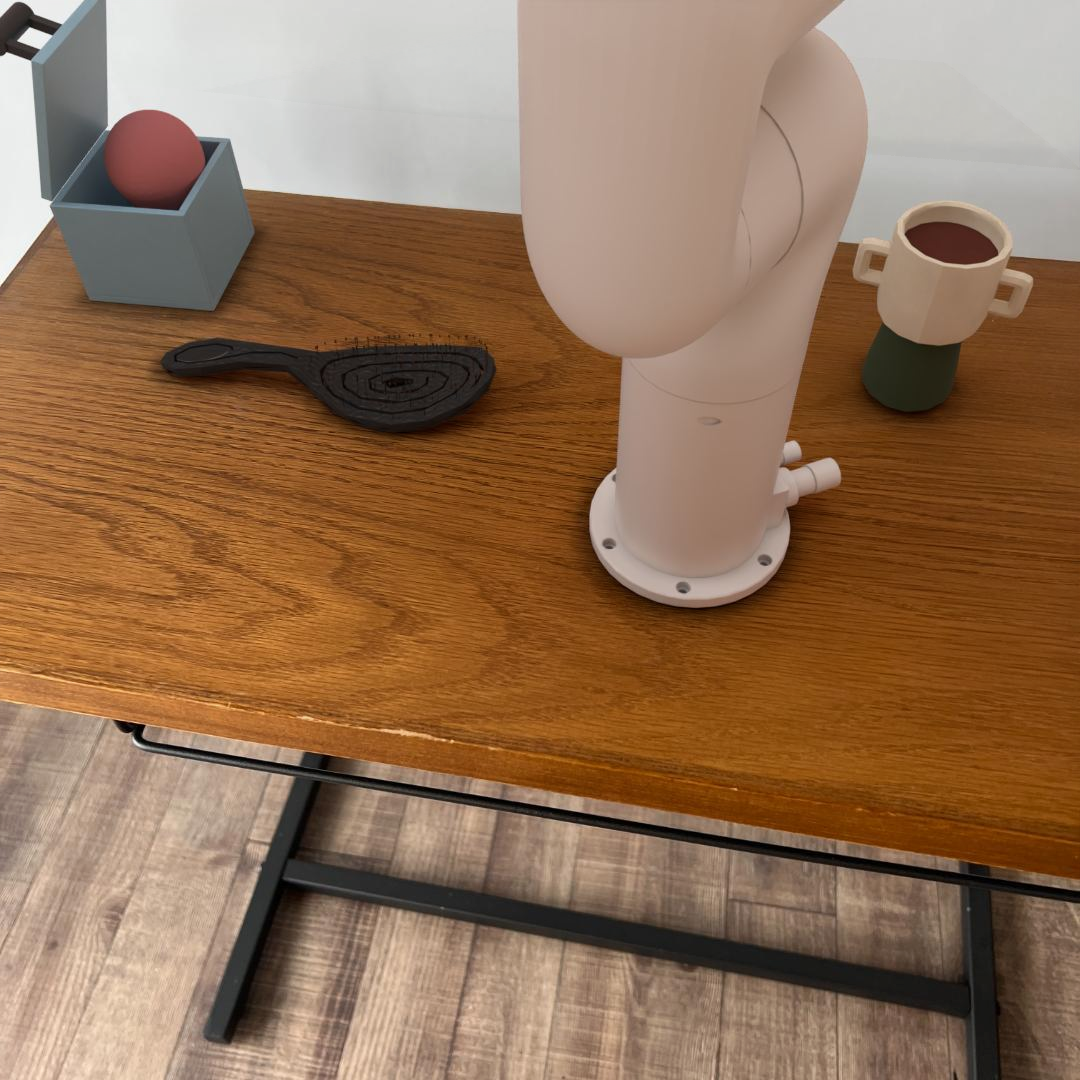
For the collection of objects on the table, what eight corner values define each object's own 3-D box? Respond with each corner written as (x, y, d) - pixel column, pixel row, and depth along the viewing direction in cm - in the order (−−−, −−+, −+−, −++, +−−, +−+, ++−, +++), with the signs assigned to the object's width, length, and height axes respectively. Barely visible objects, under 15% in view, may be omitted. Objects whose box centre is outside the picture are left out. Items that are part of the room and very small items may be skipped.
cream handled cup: (990, 376, 78) (1054, 220, 67) (972, 442, 73) (1037, 287, 63) (840, 337, 80) (880, 182, 70) (815, 398, 76) (853, 244, 66)
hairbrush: (175, 299, 80) (504, 320, 76) (191, 337, 83) (509, 360, 79) (129, 375, 75) (479, 402, 71) (148, 413, 78) (485, 441, 74)
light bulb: (226, 225, 90) (182, 83, 81) (240, 270, 85) (194, 126, 76) (140, 245, 88) (85, 104, 80) (149, 293, 84) (92, 149, 75)
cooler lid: (106, -9, 76) (28, -38, 75) (43, 64, 69) (-43, 33, 69) (108, 126, 84) (38, 101, 83) (52, 202, 78) (-25, 176, 77)
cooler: (255, 232, 90) (230, 138, 83) (213, 311, 84) (183, 215, 77) (138, 223, 91) (105, 129, 84) (89, 300, 85) (48, 205, 78)
